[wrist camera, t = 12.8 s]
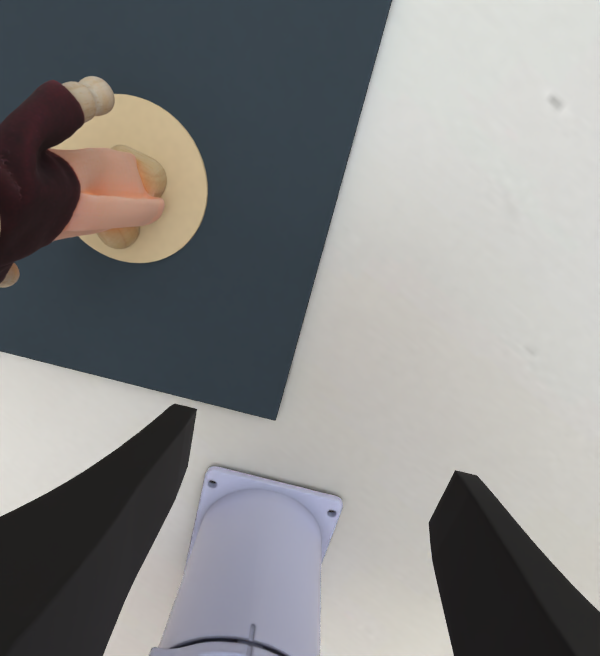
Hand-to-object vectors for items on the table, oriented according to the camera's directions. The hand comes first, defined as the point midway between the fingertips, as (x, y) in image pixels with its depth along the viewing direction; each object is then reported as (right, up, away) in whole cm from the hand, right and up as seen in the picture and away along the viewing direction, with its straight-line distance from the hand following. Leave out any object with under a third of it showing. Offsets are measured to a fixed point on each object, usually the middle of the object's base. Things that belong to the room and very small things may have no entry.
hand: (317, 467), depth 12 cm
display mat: (-8, +10, +8) cm, 15 cm away
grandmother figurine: (-8, +10, +7) cm, 15 cm away
